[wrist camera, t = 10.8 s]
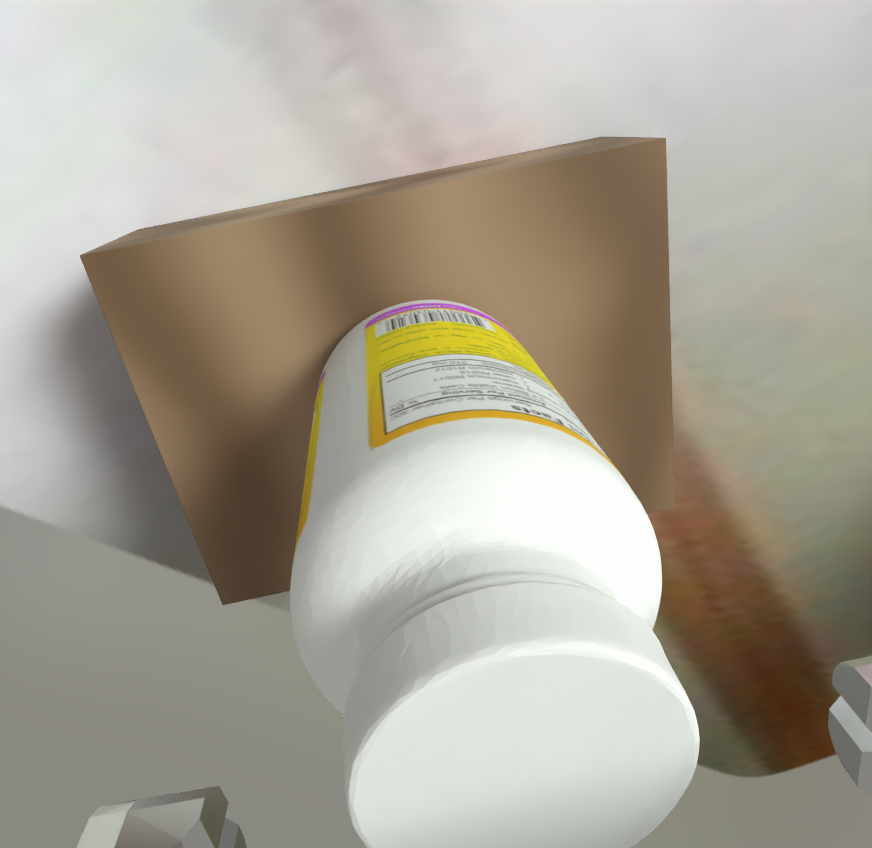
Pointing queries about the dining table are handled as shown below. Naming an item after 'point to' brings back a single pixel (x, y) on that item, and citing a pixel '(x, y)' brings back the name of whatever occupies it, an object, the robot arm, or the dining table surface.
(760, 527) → the dining table surface
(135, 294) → the walnut stand
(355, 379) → the supplement bottle
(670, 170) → the dining table surface
